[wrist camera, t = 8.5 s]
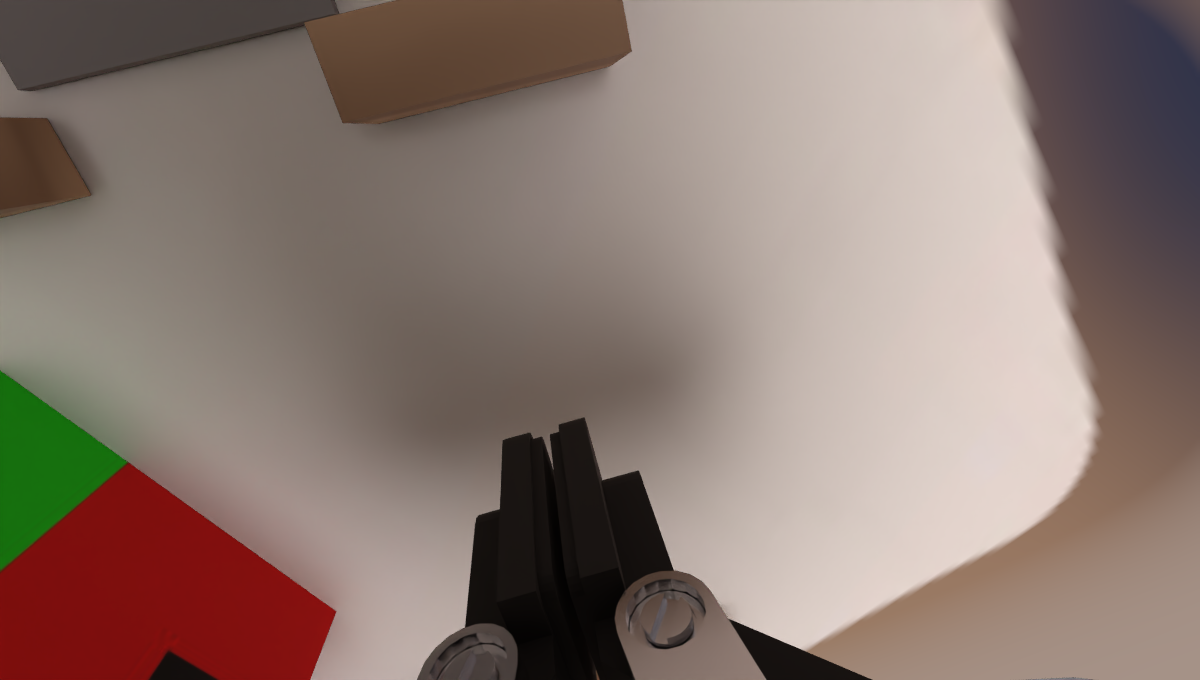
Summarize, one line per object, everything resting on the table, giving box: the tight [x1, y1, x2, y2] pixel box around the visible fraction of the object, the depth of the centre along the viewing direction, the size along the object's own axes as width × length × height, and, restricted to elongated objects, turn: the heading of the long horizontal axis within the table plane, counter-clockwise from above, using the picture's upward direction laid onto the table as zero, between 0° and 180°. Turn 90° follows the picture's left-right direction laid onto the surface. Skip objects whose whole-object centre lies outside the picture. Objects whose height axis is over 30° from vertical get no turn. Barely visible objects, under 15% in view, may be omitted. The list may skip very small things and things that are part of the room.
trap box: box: [0, 0, 632, 680], centre depth 12 cm, size 19×26×4 cm
